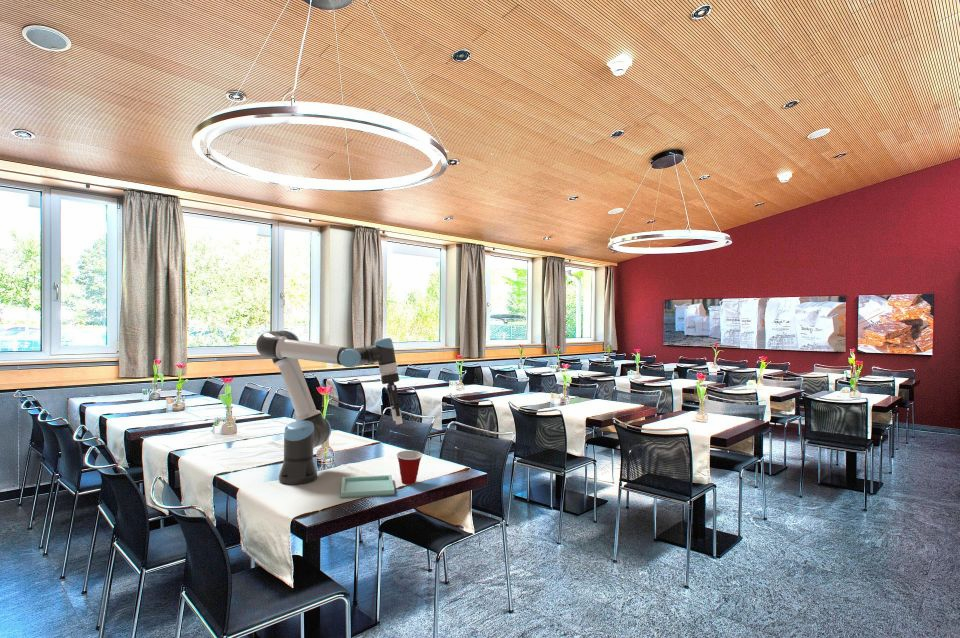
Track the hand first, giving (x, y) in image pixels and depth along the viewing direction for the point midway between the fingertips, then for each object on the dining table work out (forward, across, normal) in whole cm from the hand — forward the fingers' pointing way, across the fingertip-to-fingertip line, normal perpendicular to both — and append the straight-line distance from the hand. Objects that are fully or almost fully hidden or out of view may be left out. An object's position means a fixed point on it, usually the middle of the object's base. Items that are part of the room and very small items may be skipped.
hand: (397, 422), depth 228 cm
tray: (+21, -13, +17) cm, 31 cm away
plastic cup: (+24, -9, 0) cm, 26 cm away
